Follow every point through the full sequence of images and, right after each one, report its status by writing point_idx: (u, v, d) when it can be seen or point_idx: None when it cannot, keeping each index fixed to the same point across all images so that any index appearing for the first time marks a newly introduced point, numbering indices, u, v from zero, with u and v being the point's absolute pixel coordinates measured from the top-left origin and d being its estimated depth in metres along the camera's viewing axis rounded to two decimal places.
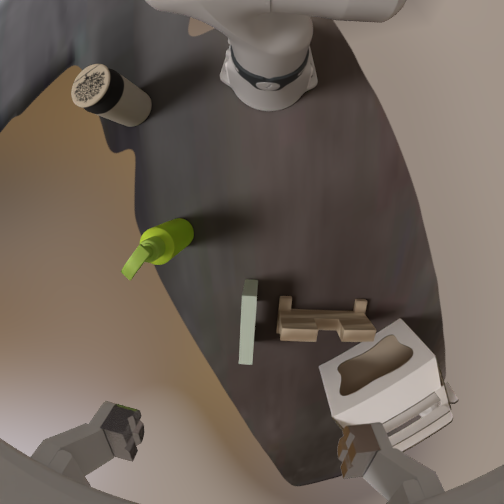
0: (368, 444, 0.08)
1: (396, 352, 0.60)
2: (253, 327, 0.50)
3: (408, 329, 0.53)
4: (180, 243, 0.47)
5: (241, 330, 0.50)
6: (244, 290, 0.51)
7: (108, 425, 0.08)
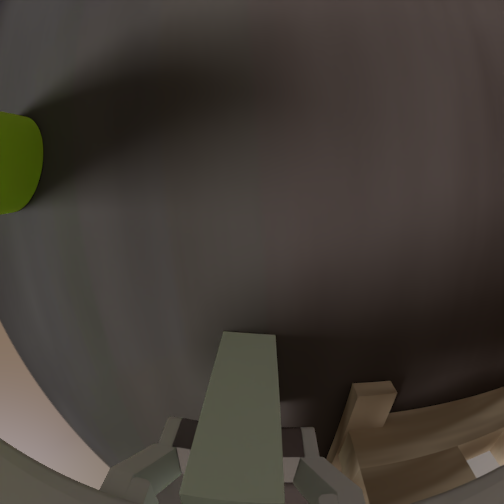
0: (292, 449, 0.08)
1: None
2: None
3: None
4: None
5: None
6: (204, 428, 0.07)
7: (181, 442, 0.08)
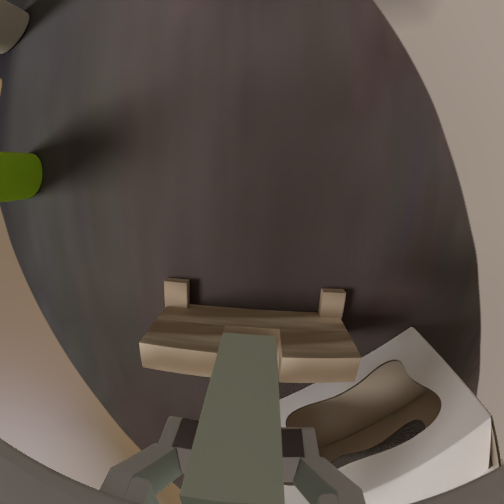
0: (292, 449, 0.08)
1: (402, 386, 0.32)
2: None
3: (429, 350, 0.25)
4: None
5: None
6: (204, 430, 0.07)
7: (181, 442, 0.08)
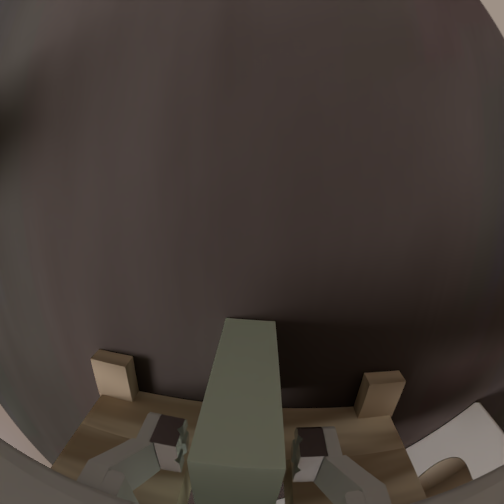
0: (315, 449, 0.08)
1: (446, 464, 0.17)
2: None
3: None
4: None
5: None
6: (210, 402, 0.08)
7: (158, 438, 0.08)
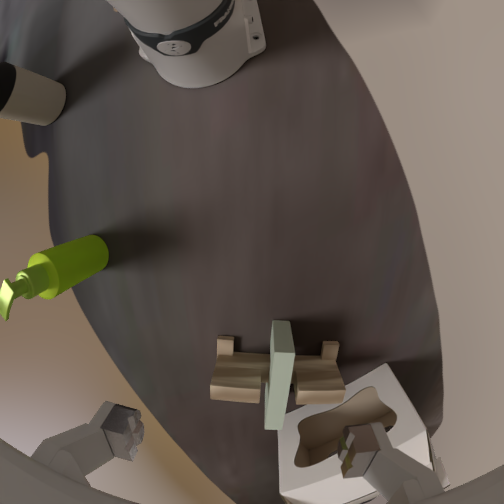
0: (368, 444, 0.08)
1: (380, 401, 0.45)
2: (287, 390, 0.34)
3: (394, 381, 0.38)
4: (74, 271, 0.32)
5: (270, 393, 0.35)
6: (275, 341, 0.36)
7: (109, 425, 0.08)
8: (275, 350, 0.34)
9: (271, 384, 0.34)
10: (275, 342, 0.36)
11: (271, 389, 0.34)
